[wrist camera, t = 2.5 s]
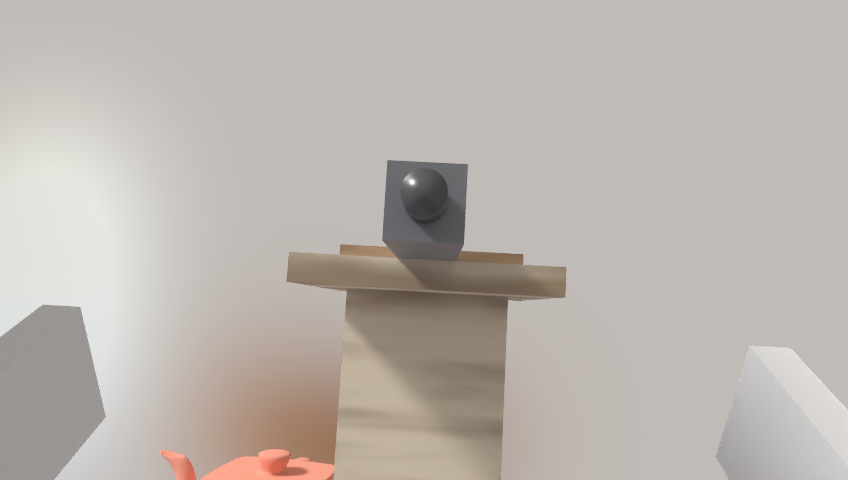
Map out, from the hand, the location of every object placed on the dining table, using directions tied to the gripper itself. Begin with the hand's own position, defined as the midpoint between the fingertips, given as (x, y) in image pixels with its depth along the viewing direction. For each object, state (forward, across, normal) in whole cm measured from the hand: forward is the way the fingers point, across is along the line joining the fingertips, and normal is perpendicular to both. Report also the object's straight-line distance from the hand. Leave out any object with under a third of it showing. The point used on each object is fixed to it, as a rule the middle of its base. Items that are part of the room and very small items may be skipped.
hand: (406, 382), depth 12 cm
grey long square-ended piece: (+20, 0, -7) cm, 21 cm away
